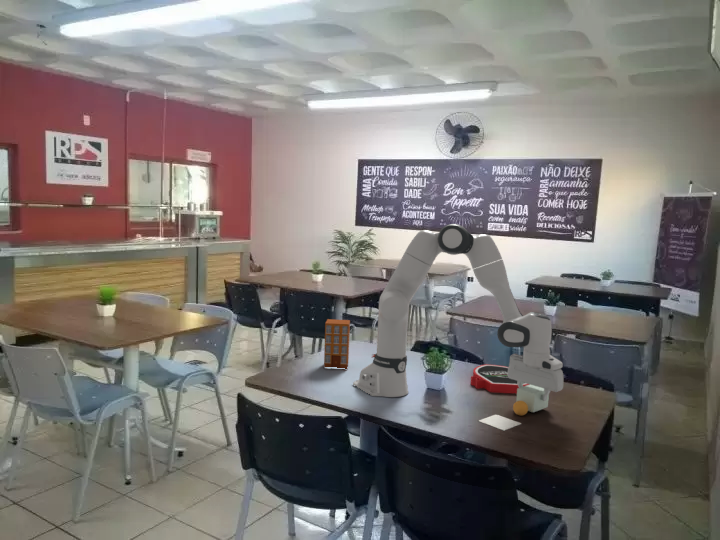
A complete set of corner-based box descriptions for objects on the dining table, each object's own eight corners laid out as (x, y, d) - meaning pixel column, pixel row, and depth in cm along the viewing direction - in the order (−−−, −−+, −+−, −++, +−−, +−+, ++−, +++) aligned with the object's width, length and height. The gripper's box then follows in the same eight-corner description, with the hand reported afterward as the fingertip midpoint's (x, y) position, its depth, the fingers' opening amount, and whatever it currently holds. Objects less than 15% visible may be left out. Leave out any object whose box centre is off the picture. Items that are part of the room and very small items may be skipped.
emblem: (516, 363, 249) (557, 383, 221) (515, 371, 250) (556, 393, 221) (454, 365, 241) (487, 387, 213) (453, 374, 242) (487, 396, 213)
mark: (478, 421, 186) (478, 420, 186) (495, 414, 193) (495, 414, 193) (503, 430, 179) (504, 430, 179) (521, 423, 185) (521, 423, 185)
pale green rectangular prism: (515, 406, 198) (517, 388, 198) (530, 401, 205) (532, 383, 204) (533, 412, 193) (534, 393, 193) (547, 406, 200) (549, 388, 199)
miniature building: (323, 369, 238) (325, 323, 236) (325, 363, 248) (327, 319, 246) (346, 370, 238) (348, 324, 236) (348, 364, 247) (350, 320, 245)
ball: (509, 414, 194) (510, 400, 193) (517, 411, 197) (518, 397, 197) (522, 418, 190) (523, 404, 189) (530, 415, 193) (531, 401, 193)
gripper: (505, 353, 203) (502, 390, 204) (558, 367, 188) (554, 406, 189) (515, 351, 207) (512, 387, 208) (567, 364, 192) (563, 403, 193)
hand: (532, 396), depth 199 cm, fingers closed on pale green rectangular prism, 7 cm apart
